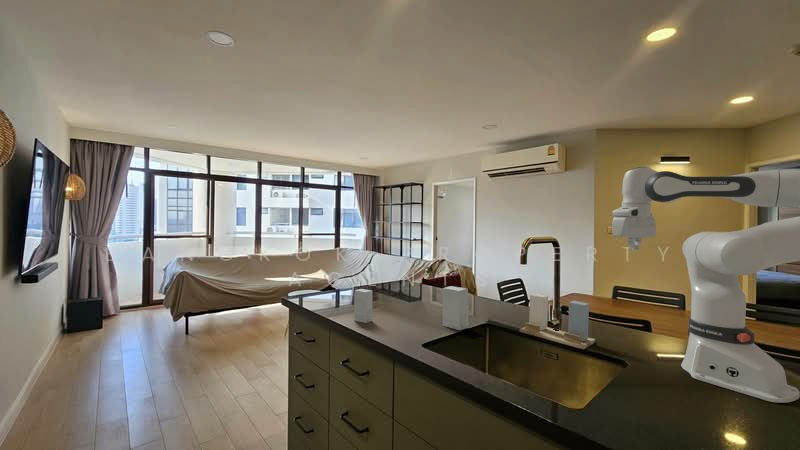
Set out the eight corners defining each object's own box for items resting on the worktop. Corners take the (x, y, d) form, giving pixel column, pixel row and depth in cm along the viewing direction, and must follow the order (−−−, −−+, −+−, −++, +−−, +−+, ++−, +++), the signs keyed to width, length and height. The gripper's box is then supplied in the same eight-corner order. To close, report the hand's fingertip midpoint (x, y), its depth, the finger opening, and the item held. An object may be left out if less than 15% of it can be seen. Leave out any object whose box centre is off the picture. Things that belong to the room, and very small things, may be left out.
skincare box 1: (372, 320, 136) (373, 290, 136) (365, 323, 133) (366, 292, 132) (360, 318, 139) (361, 288, 139) (353, 320, 136) (354, 290, 136)
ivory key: (534, 325, 132) (535, 293, 132) (547, 328, 128) (548, 295, 128) (529, 327, 129) (530, 294, 129) (542, 330, 125) (543, 297, 125)
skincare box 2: (468, 328, 130) (469, 288, 130) (458, 331, 126) (460, 290, 126) (450, 322, 136) (451, 285, 136) (440, 325, 132) (442, 286, 132)
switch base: (533, 326, 135) (533, 317, 135) (595, 342, 119) (595, 332, 118) (519, 331, 128) (520, 322, 128) (583, 349, 111) (584, 338, 111)
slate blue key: (572, 334, 122) (573, 300, 121) (587, 338, 118) (589, 303, 118) (567, 337, 119) (569, 302, 119) (583, 341, 115) (584, 305, 115)
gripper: (644, 213, 134) (642, 248, 134) (609, 211, 126) (607, 249, 126) (662, 213, 128) (660, 250, 129) (626, 211, 120) (625, 251, 120)
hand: (634, 249), depth 127 cm, fingers closed
